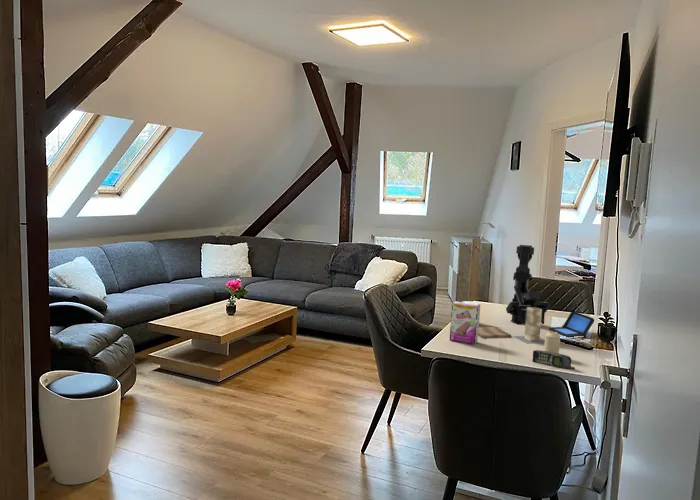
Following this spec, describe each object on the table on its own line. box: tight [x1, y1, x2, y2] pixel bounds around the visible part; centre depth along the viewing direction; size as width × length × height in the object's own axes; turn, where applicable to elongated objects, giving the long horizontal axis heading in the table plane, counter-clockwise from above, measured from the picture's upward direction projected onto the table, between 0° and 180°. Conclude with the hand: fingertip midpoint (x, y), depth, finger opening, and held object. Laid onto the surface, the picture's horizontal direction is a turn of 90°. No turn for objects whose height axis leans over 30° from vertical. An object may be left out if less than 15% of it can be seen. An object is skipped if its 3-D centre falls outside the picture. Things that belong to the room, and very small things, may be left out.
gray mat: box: [512, 335, 545, 345], centre depth 235 cm, size 12×12×1 cm
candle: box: [543, 330, 561, 354], centre depth 210 cm, size 6×6×10 cm
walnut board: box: [478, 326, 512, 339], centre depth 242 cm, size 14×14×1 cm
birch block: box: [524, 307, 542, 341], centre depth 234 cm, size 4×4×14 cm
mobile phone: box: [532, 349, 576, 370], centre depth 199 cm, size 5×3×15 cm
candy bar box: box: [449, 300, 481, 345], centre depth 226 cm, size 11×5×16 cm, turn 65°
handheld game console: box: [548, 311, 595, 338], centre depth 248 cm, size 16×13×9 cm
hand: (533, 323), depth 233 cm, fingers open, 9 cm apart
